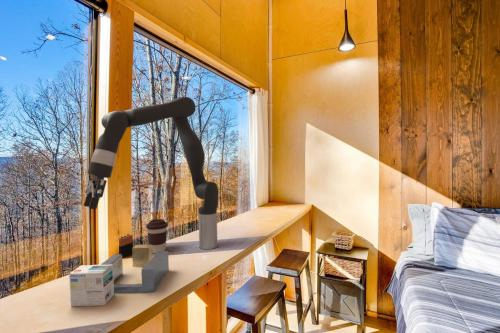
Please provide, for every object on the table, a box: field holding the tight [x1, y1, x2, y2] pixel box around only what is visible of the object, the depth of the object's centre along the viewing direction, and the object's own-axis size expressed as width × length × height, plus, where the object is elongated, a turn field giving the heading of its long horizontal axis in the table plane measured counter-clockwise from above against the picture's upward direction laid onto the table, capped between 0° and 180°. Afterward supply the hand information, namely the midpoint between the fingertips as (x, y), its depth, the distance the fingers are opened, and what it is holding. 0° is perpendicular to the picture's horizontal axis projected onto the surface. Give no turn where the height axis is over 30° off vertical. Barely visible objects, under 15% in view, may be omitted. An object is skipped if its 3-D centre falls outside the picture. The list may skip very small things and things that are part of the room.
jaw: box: [100, 253, 124, 282], centre depth 99 cm, size 12×7×8 cm, turn 0°
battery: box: [119, 234, 134, 258], centre depth 125 cm, size 4×7×10 cm, turn 152°
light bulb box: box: [69, 264, 115, 307], centre depth 86 cm, size 11×7×11 cm, turn 92°
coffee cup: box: [145, 218, 169, 254], centre depth 130 cm, size 10×10×15 cm
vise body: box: [114, 250, 170, 294], centre depth 99 cm, size 17×26×8 cm, turn 90°
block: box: [131, 244, 154, 268], centre depth 114 cm, size 4×7×8 cm, turn 90°
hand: (89, 207), depth 94 cm, fingers open, 8 cm apart
